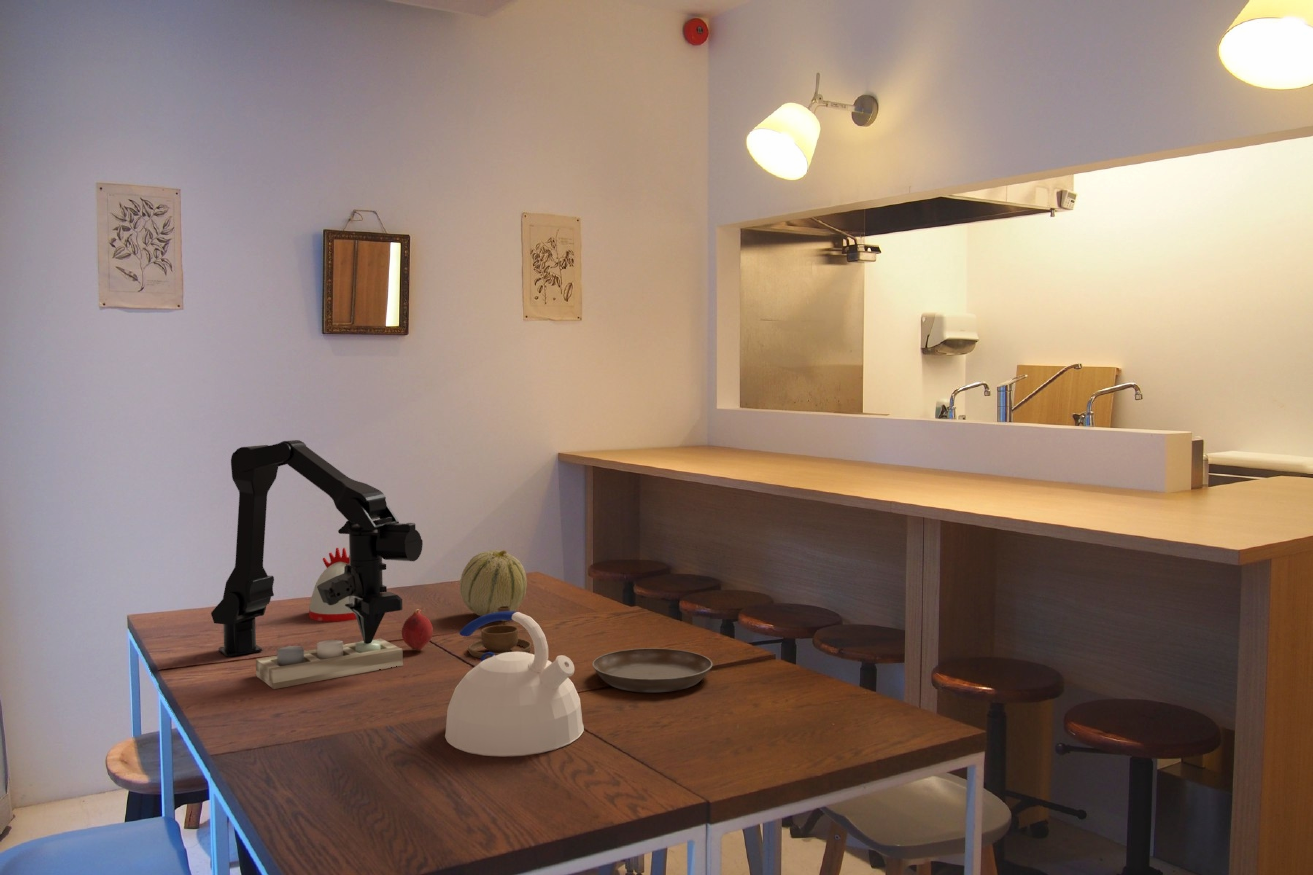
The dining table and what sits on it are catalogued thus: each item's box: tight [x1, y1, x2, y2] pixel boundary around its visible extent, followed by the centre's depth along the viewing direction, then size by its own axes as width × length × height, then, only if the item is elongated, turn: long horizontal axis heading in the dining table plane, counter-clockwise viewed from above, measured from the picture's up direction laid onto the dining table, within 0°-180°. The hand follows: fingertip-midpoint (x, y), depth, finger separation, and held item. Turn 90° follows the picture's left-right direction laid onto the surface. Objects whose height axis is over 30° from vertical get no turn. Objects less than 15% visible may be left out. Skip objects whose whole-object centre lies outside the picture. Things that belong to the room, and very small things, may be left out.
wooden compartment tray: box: [255, 638, 404, 690], centre depth 184 cm, size 10×23×3 cm, turn 127°
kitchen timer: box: [308, 547, 357, 622], centre depth 229 cm, size 14×14×15 cm
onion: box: [401, 608, 434, 652], centre depth 197 cm, size 6×6×8 cm
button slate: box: [276, 645, 305, 666], centre depth 179 cm, size 4×4×2 cm
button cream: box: [316, 639, 344, 659], centre depth 184 cm, size 4×4×2 cm
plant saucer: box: [592, 647, 713, 694], centre depth 177 cm, size 21×21×3 cm
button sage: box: [355, 639, 381, 653], centre depth 188 cm, size 4×4×2 cm
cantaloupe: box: [459, 549, 528, 617], centre depth 225 cm, size 15×15×15 cm
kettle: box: [444, 610, 585, 758], centre depth 151 cm, size 20×21×18 cm
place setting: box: [468, 606, 535, 660], centre depth 200 cm, size 18×20×6 cm
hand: (367, 643), depth 188 cm, fingers closed, pressing on button sage
